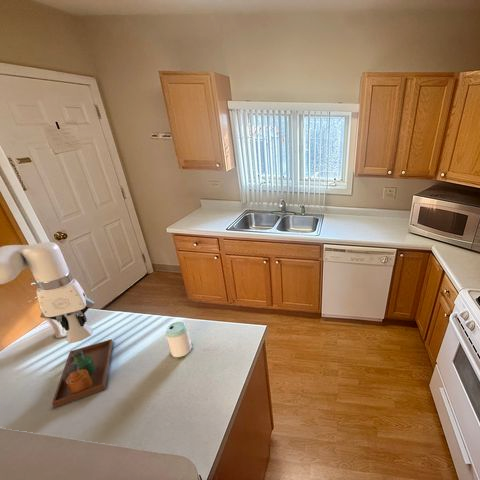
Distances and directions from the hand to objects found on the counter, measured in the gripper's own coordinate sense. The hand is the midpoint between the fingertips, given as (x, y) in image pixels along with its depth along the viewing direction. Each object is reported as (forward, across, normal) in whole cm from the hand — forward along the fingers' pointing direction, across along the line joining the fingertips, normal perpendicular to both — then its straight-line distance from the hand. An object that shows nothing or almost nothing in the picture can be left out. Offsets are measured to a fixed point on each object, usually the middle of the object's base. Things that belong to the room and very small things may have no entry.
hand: (75, 325), depth 87 cm
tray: (+16, 0, -6) cm, 17 cm away
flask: (+5, 0, 0) cm, 5 cm away
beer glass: (+16, -11, +21) cm, 28 cm away
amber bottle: (+15, 0, -14) cm, 20 cm away
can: (+16, +29, -12) cm, 35 cm away
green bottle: (+15, 0, -7) cm, 17 cm away
